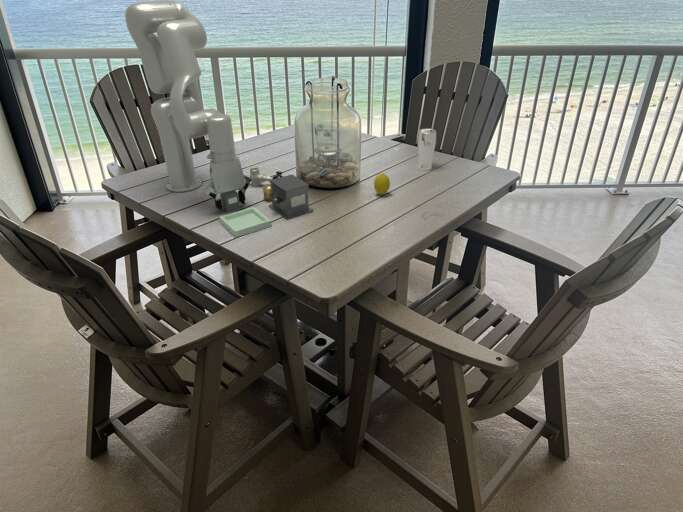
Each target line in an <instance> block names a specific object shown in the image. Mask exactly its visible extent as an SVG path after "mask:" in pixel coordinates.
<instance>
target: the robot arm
mask: <svg viewBox="0 0 683 512" xmlns="http://www.w3.org/2000/svg"><path fill="white" fill-rule="evenodd" d="M124 17H125V24H126V27H127V31H128V32H129V35H130V37H131V38H132V40H133V42H134V44H135V46H136V48H137V50H138V53H139V57H140V60H141V65H142V68H143V71H144V74H145V79H146V81H147V82H146V83H147V84H148V87H149V89H150V90H151V91H152V93H154V94H157V95H163V94H168V93H170V94H169V96H167V97H162V98H159V99H157V100H156V101H153V103H152V104H151V107H150V113H151V116H152V119H153V122H154V123H155V126H156V127H155V128H156V129H157V132H158V136H159V140H160V145H161V149H162V152H163V153H162V154H163V157H164V161H165V163H164V164H165V166H166V167H165V168H166V171H167V175H168V180H169V181H168V182H166V185H165V186H166V187H165V188H166V189H167V190H168V191H171V192H174V193H183V192H184V193H185V192H190V191H193V190H196V189H198V188H199V187H201V185H202V184H203V183H202V179H200V178H199V177H197V176H196V170H195V163H194V158H193V152H192V147H191V141H190V140H193V139H198V138H201V137H204V136H207V138H208V139H207V141H208V143H209V145H208V146H209V153H208V154H207V155H206V159H207V160H209V179H210V180H209V182H208V183H207V185H205V187H203V189H202V190H203V192H204V193H206V195H208V196H209V197H210V198H212V199H214V206H215V209H218V210H219V211H220V212H222V211H223V210H224V209H223V208H222V202H221V196H220V195H221V193H225V192H229V191H233V190H235V191H236V190H238V191H237V193H238V195H239V202H240V205H242V206H243V205H246V203H245V202H246V191H247V189H248V188H249V186H250V184H251V178H250V176H248V175H245V174H244V171H243V167H242V166H243V165H242V164H241V160H240V157H238V156H237V155H236V148H235V140H234V133H233V132H234V131H233V126H232V125H233V124H232V119H231V117H230V115H228V114H227V113H222V112H220V111H219V110H218V109H215V108H207V109H204V105H203V101H202V96H201V93H200V89H199V83H198V79H200V77H201V76H202V71H201V68H200V65H199V62H198V59H197V57H196V54H195V51H194V50H200V49H203V48H205V47H206V46H207V42H208V37H207V32H206V29H205V28H204V25H203V24H202V23H201V21H200V20H199V18H197V17H196V15H194V14H193V13H192V12H191V11H190V10H189V9H188V8H186V6H184V5H183V4H182V3H181V2H179V1H176V0H158V1H156V0H154V1H151V0H150V1H138V2H134V3H131V4H130V5H129V6H127V8H126V10H125V15H124ZM155 33H156V34H155ZM211 189H212V190H213V192H212V191H211Z"/></svg>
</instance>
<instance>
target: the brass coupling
mask: <svg viewBox="0 0 683 512" xmlns="http://www.w3.org/2000/svg"><path fill="white" fill-rule="evenodd" d="M262 194H263V200H264V202H266V203H272V201H271V200H272V190H271V183H266V184H264V185H262Z"/></svg>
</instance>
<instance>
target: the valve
mask: <svg viewBox="0 0 683 512" xmlns="http://www.w3.org/2000/svg"><path fill="white" fill-rule="evenodd" d="M275 173H276V175H274V176H267V175H266V174H264V173H261V174H260V168H259V167H257V166H256V167H255V166H254V167H250V168H249V178H251V182H250V184H251V187H253V188H258V187H261V186H262V184H261V183H265V182H269V180H272V179H276V178H280V177H284V176H283V172H282V171H279V170H278V171H276V172H275Z"/></svg>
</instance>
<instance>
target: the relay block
mask: <svg viewBox="0 0 683 512" xmlns="http://www.w3.org/2000/svg"><path fill="white" fill-rule="evenodd" d="M220 199H221V203H222V209H223V210H224V211H225V212H226V213H227V214H231V213H234V212H238V211H241V203H240V202H239V195H238V191H236V190H233V191H229V192H225V193H221V195H220Z"/></svg>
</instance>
